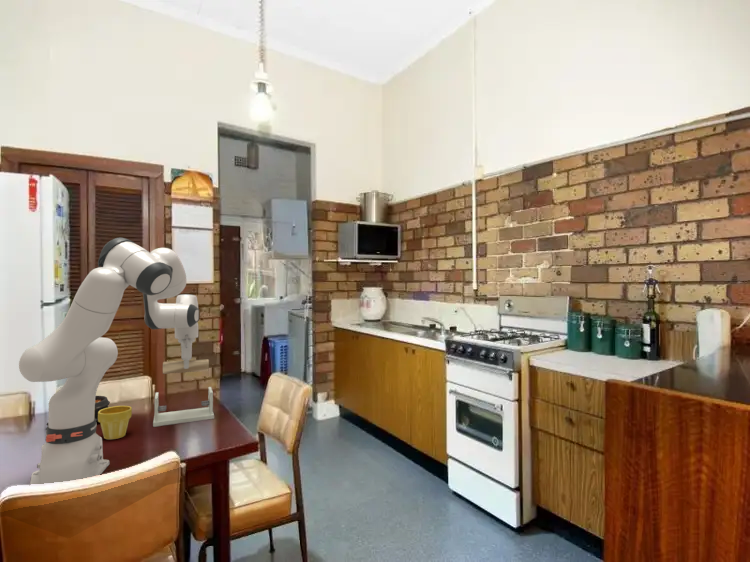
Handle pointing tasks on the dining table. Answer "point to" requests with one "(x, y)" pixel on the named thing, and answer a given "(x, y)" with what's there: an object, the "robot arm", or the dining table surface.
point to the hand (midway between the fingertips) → (186, 367)
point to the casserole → (99, 405)
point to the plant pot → (114, 421)
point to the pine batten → (179, 366)
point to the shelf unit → (184, 413)
